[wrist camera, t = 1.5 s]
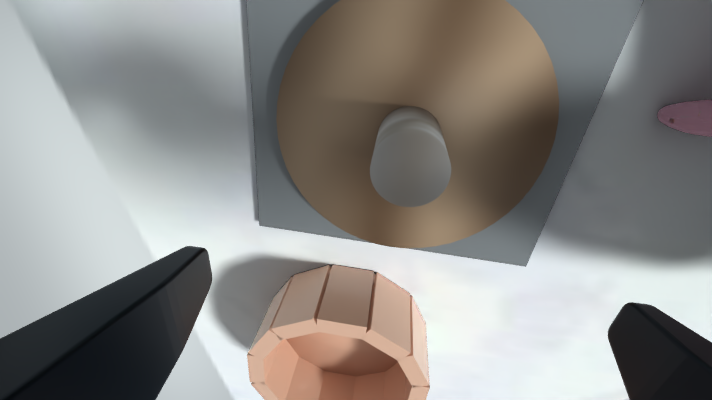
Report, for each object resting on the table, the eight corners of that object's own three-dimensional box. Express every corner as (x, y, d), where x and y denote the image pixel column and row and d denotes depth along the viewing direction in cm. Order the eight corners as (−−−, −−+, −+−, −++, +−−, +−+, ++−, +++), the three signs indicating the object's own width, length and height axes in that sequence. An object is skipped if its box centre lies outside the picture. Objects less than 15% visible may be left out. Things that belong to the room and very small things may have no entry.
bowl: (438, 281, 22) (445, 340, 18) (409, 384, 27) (409, 447, 23) (270, 254, 22) (242, 306, 18) (275, 360, 28) (253, 417, 24)
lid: (604, -7, 13) (694, -14, 9) (502, 255, 20) (527, 321, 16) (279, -40, 14) (225, -60, 10) (283, 222, 21) (251, 275, 16)
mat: (645, -17, 13) (651, -18, 13) (523, 262, 20) (525, 266, 20) (246, -56, 14) (243, -58, 14) (261, 222, 21) (259, 225, 21)
